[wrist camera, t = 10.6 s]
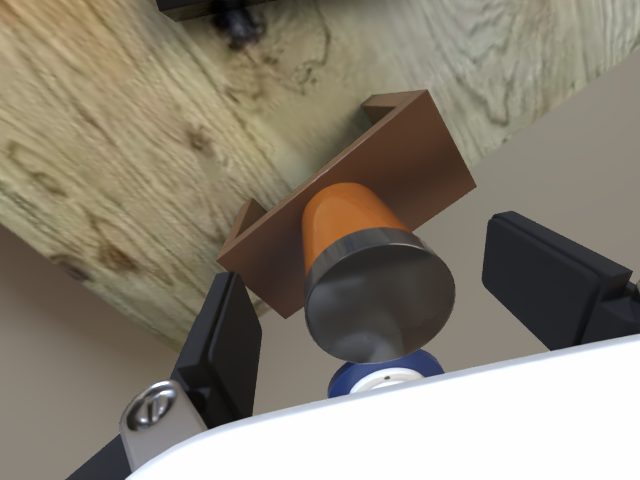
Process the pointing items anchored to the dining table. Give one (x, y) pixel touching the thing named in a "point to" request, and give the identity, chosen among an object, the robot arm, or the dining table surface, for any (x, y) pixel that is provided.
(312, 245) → the spice bottle
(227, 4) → the hob
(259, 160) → the dining table surface
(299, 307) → the shelf
